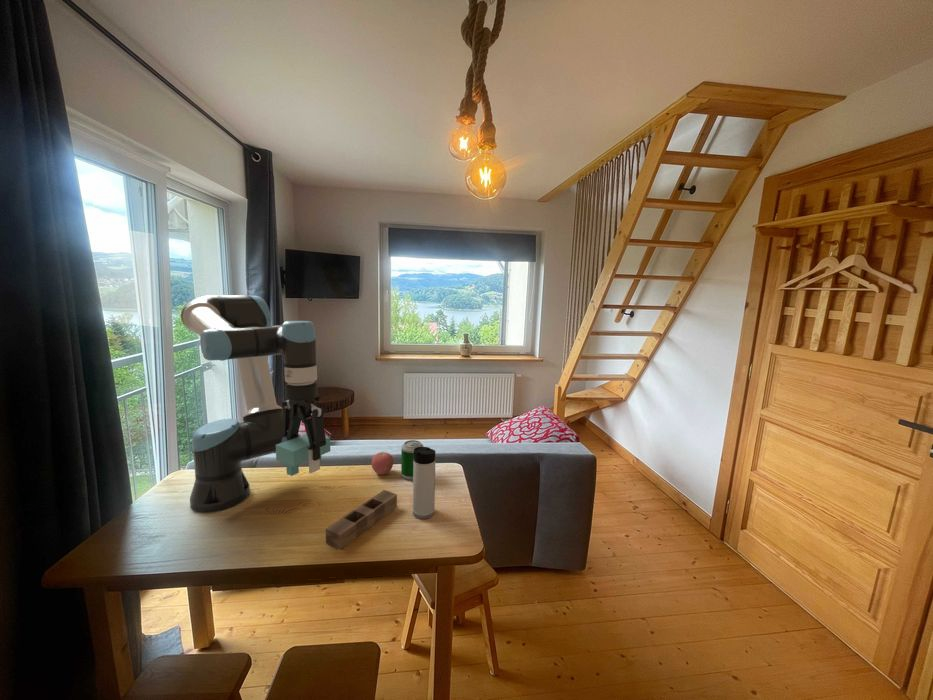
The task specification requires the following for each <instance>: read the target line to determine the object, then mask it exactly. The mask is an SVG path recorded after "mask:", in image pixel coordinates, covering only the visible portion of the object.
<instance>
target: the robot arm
mask: <svg viewBox="0 0 933 700" xmlns="http://www.w3.org/2000/svg"><path fill="white" fill-rule="evenodd" d="M271 319H272V318H271V313H270V308H269V306H268V304H267V302H266V301H265V299H264V298H262V297H261V296H259V295H250V294H244V295H241V294H239V295H237V294H236V295H235V294H233V295H232V294H222V295H221V294H209V295H208V294H207V295H203V296H201V295H200V296H198V297H196V298H194V299H192V300H189V302H187V303H186V304H185V305H184V306H183V308H182V309H181V313H180V320H181V322H182V324H183V325H184V327H185V328H186V329H188V330H189V331H190V332H192V333H195V334H197V335H198V336H199V337H200V350H201V354H202V356H203V358H204V359H205V360H207V361H227V360H236V361H237V364H238V370H239V375H240V381H241V385H242V391H243V396H244V402H245V406H246V407H245V408H246V412H245V413H244V414H243V416H242V420H243V421H242V422H240V421H239V420H238V419H235V418H227V419H226V418H224V419H217V420H214V421H212V422H208V423H206V424H203V425H202V426H200V427H199V428H197V429H196V430H195V431H194V432H193V435H192V438H191V439H192V441H191V442H192V445H191V446H192V447H191V449H192V452H193V465H194V475H195V477H194V479H195V481H194V483H193V487H192V490H191V493H190V496H189V505H190V509H191V510H192V511H194V512H197V513H215V512H221V511H224V510H228V509H231V508H233V507H236V506H238V505H239V504H241V503H242V502H244V501H245V500H246V499H248V498H249V495H250V493H251V486H250V484H249V480H248V479H247V477H246V476H245V473H244V471H243V467H242V462H244V461H245V462H246V461H249V460H252V459H256V458H260V457H264V456H268V455H272V454H276V445H277V444H280V443H283V442H285V441H288V440H291V439H294V438H297V437H299V436H300V435H299V432H300V428H301V423H302V424H303V425H304V428H305V432H306V433H305V434H307V436H308V440H309V444H310V448H308V457H309V461H308V473H309V474H313V473H316V472H317V471H319V470H321V463H320V447H322V446H324V445H326V437H325V436H326V429H325V422H324V413H325V409H324V407H318V406H316V402H315V399H316V397H317V396H318V394H319V393H318V382H317V379H318V369H317V368H318V367H317V343H316V342H317V341H316V338H317V334H316V328H315V323H314V322H313V321H310V320H286V321H284V322H283V323H282V324H280V325H279V324H276V325H272V326H271V324H272V323H271ZM280 355H281V356H283V367H284V374H283V375H284V382H286V383H285V384H284V392H285V393H284V394H285V395H284V396H285V398H286V399H287V400H284V401H282V402H281V405H278V404H277V399H276V395H275V390H274V385H273V379H272V374H271V371H270V365H269V361H268V357H269V356H280ZM314 442H315V443H314Z"/></svg>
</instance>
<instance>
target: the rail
mask: <svg viewBox="0 0 933 700" xmlns="http://www.w3.org/2000/svg"><path fill="white" fill-rule="evenodd" d="M397 507H398V494H397V493H394V492H392V491H389V490H386V489H382V490H381V491H380V492H378V493H376V495H373V497H371V498H369V499H368V500H366V501H365V502H363V503H361V505H359V506H358V507H356V508H355V509H353V510H351V511H350V512H348V513H347V514H346V515H344V516H342V517H341V518H339V519H338V520H336V521H335V522H334V523H332V524H330V525H329V526H328V527H326V528H325V542H326V544H328V545H330V546H332V547H333V548H336V549H338V550H339V551H341V550H343V548H345V547H346V546H347V545H349V544H350V543H351V542H353V541H354V540H355V539H357V538H358V537H359V536H361V535H362V534H363V533H364V532H366V531H367V530H369V528H371V527H373V525H375V524H376V523H378V522H379V521H381V520H382V519H383V518H384V517H386V516H387V515H388V514H390V513H391V512H392V511H394V510H395V509H396V508H397Z"/></svg>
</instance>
